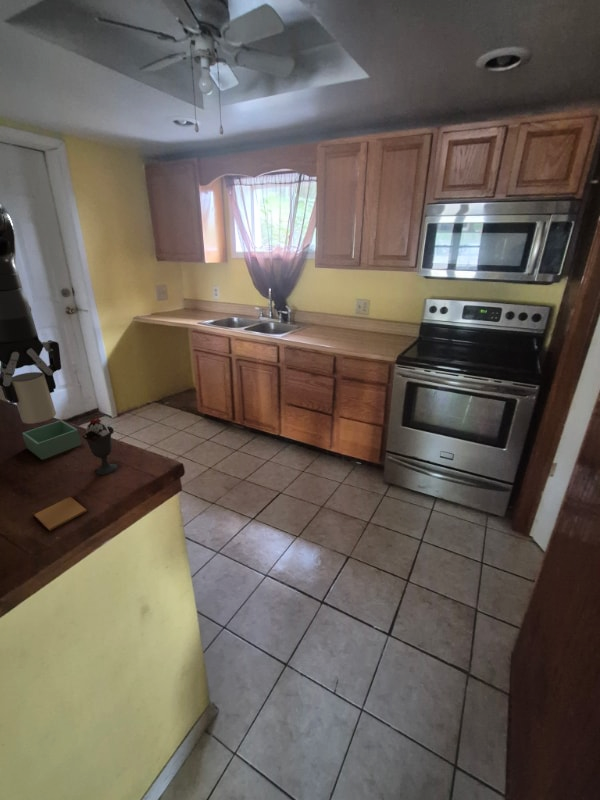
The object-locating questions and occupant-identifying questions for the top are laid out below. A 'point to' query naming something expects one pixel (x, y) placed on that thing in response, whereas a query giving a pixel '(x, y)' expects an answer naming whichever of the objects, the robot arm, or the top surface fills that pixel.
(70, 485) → the top surface
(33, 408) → the coffee cup
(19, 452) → the top surface
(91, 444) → the sundae
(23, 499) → the top surface
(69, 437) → the bin
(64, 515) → the coaster
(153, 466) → the top surface
